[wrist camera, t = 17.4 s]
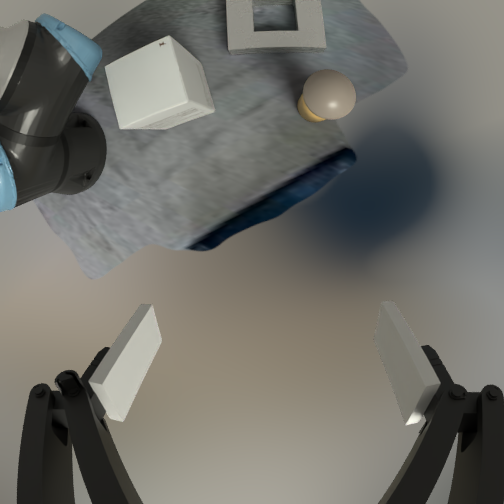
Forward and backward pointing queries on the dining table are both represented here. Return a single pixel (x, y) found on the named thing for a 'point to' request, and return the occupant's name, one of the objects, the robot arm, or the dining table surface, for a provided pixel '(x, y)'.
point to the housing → (300, 41)
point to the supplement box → (158, 87)
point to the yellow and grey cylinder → (326, 96)
